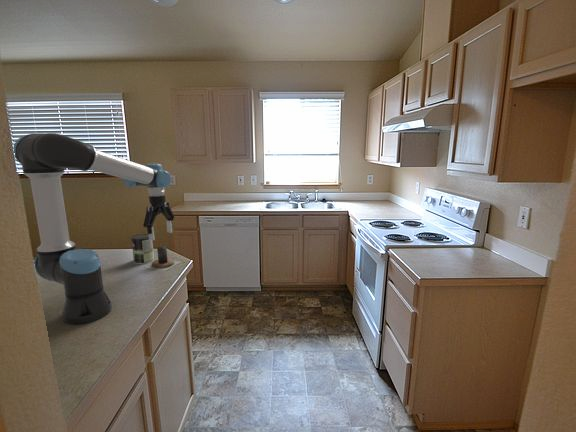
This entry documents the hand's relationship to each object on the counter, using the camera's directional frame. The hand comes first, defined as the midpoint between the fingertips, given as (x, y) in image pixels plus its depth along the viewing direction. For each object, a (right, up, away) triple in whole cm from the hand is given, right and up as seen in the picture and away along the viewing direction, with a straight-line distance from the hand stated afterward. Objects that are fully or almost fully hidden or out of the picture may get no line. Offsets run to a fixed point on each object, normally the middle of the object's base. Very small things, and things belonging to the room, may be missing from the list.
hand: (161, 236), depth 159 cm
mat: (0, -15, +3) cm, 16 cm away
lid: (0, -15, +3) cm, 15 cm away
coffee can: (-13, -14, +9) cm, 21 cm away
